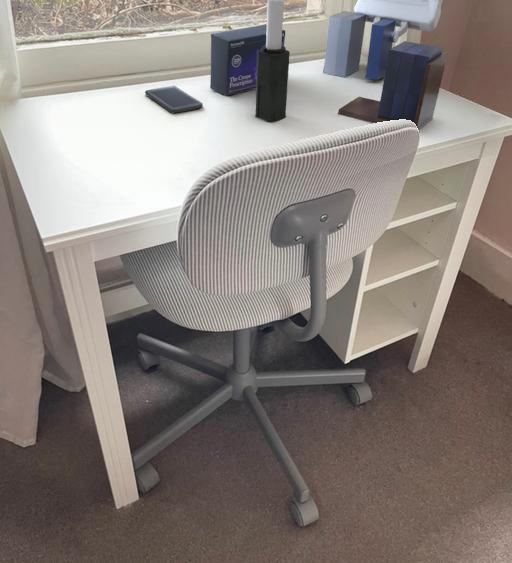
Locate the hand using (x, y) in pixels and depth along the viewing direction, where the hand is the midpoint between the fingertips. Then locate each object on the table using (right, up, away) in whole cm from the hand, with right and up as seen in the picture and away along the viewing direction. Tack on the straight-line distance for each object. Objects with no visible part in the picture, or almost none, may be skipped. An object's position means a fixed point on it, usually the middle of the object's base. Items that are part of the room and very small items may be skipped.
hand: (384, 39), depth 127 cm
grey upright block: (-9, -4, +9) cm, 13 cm away
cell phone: (-48, -19, -12) cm, 53 cm away
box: (-32, -12, -2) cm, 35 cm away
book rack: (-3, -23, -15) cm, 27 cm away
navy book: (-1, -7, +4) cm, 8 cm away
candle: (-27, -24, -17) cm, 40 cm away
